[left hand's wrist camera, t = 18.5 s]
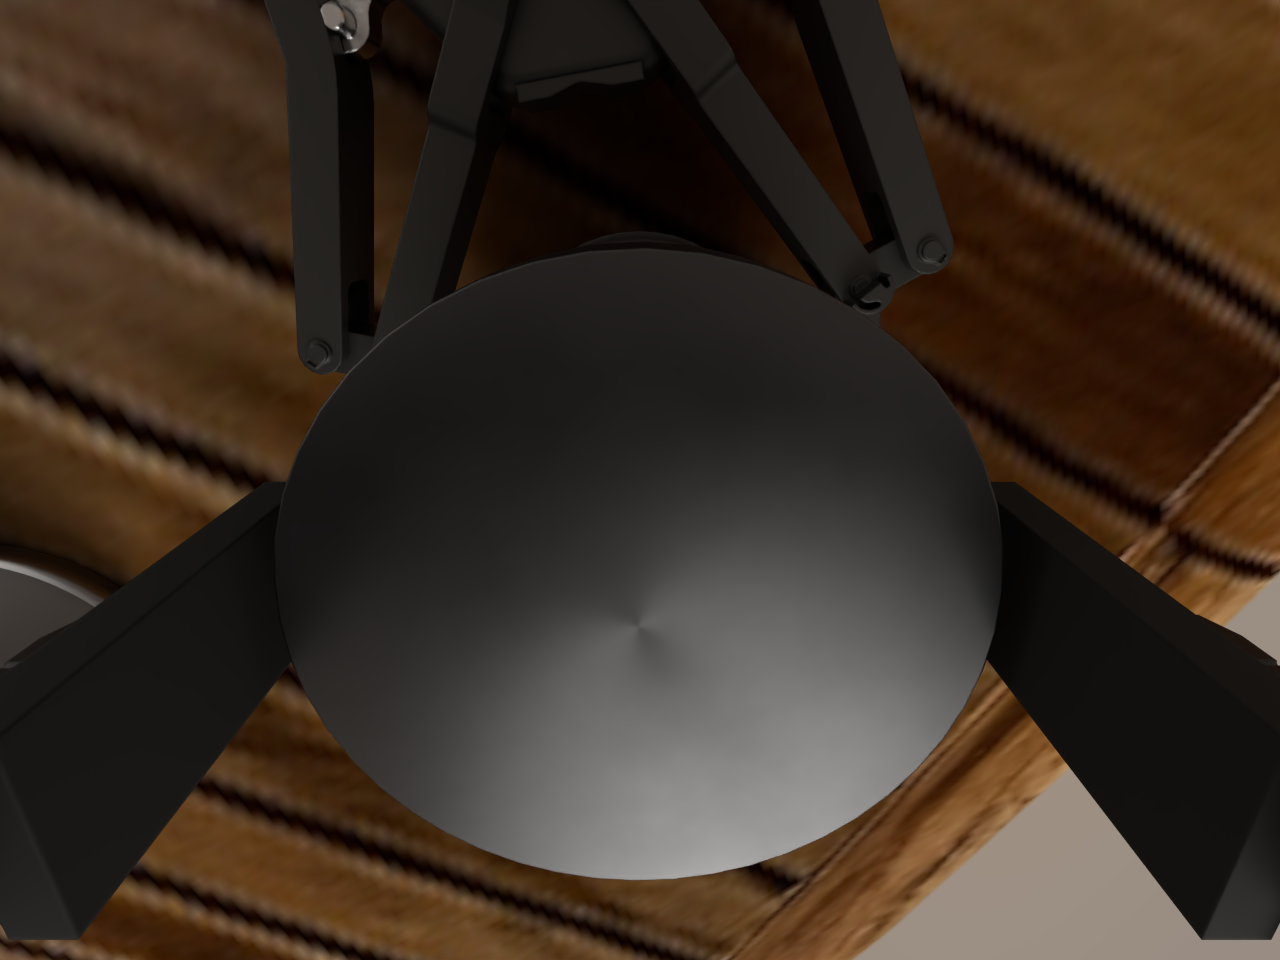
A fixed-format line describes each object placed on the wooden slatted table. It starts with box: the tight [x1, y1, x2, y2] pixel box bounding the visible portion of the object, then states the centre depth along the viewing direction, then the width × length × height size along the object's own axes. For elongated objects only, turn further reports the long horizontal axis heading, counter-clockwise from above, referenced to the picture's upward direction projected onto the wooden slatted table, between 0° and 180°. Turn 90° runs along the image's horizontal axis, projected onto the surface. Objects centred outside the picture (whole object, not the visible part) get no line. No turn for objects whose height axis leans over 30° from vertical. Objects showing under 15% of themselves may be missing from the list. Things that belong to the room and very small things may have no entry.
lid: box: [274, 241, 1003, 880], centre depth 11 cm, size 11×11×2 cm
